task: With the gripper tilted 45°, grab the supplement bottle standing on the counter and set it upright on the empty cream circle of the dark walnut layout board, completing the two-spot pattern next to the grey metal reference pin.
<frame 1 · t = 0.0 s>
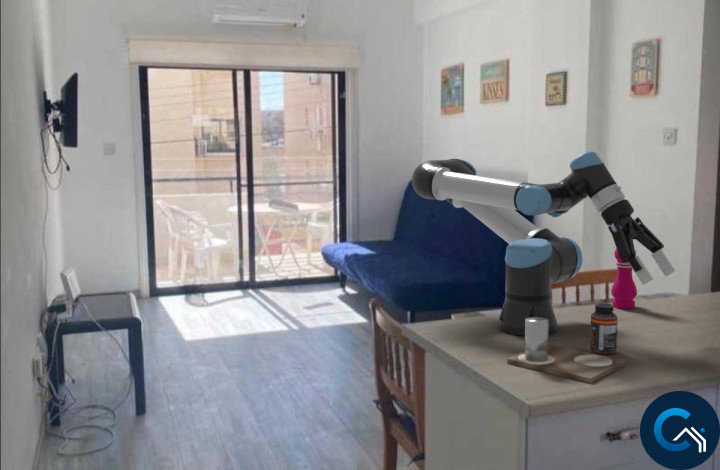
hand: (659, 278, 173), 15 cm above the table, tool tilted 35°, fingers open, 13 cm apart
pepper mill: (623, 307, 208), on the table
reference pin: (536, 363, 157), resting on layout board
supplement bottle: (603, 352, 164), on the table
layout board: (565, 363, 156), on the table
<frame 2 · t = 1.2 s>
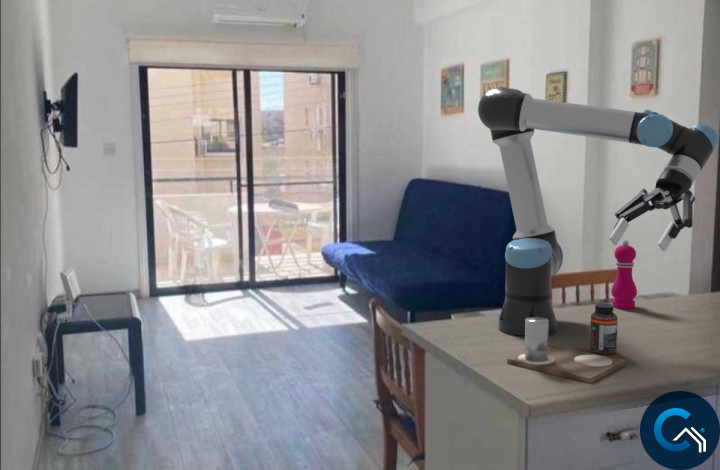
hand: (635, 244, 167), 25 cm above the table, tool tilted 45°, fingers open, 13 cm apart
nothing on the table moved.
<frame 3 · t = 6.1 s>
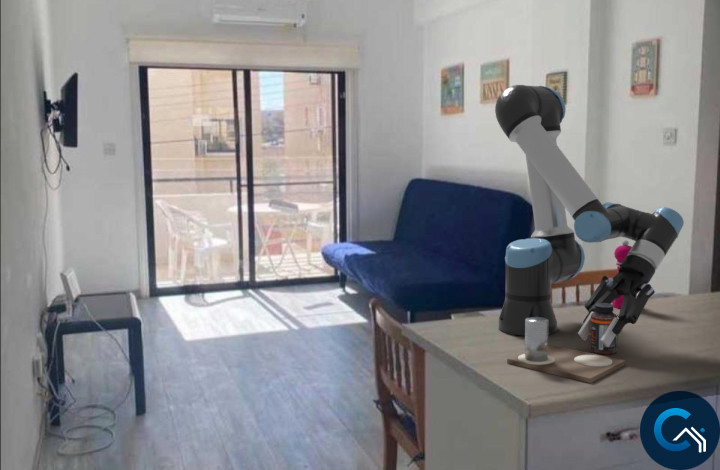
hand: (592, 340, 162), 3 cm above the table, tool tilted 45°, fingers closed on supplement bottle, 6 cm apart
supplement bottle: (603, 352, 164), on the table, touching gripper
everything else where it was.
when the fingers open (6 cm above the table, at t = 10.7 s): supplement bottle drops 1 cm, resting on layout board.
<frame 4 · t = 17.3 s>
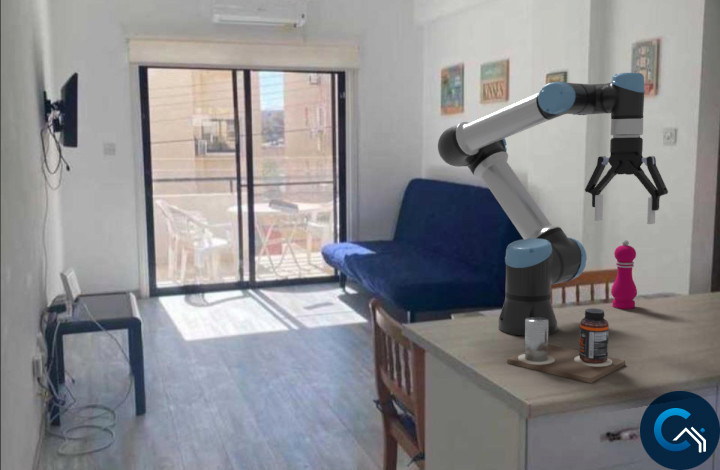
hand: (624, 222, 176), 29 cm above the table, tool pointing down, fingers open, 13 cm apart
supplement bottle: (593, 361, 155), point 1 cm above the table, touching layout board
everything else where it was.
at the end: supplement bottle 0.1 cm from the target spot, point 1.0 cm above the table; supplement bottle tilted 0°; the gripper is holding nothing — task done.
